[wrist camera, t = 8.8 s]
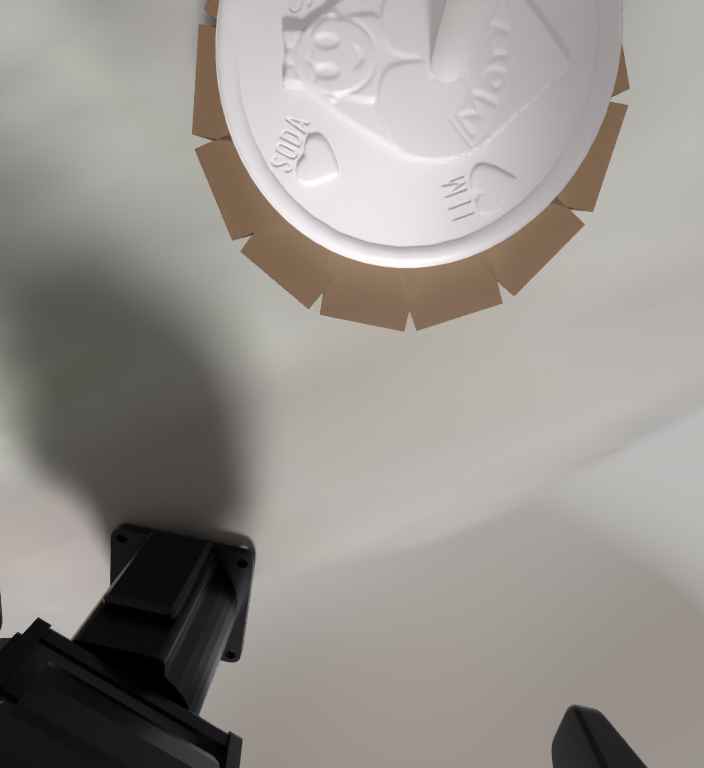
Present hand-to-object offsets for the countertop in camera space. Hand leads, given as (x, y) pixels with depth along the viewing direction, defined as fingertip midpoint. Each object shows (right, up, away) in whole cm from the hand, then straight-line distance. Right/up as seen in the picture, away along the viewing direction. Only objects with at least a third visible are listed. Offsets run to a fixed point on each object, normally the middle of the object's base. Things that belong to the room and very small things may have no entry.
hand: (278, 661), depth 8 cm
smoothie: (+3, +13, +9) cm, 16 cm away
